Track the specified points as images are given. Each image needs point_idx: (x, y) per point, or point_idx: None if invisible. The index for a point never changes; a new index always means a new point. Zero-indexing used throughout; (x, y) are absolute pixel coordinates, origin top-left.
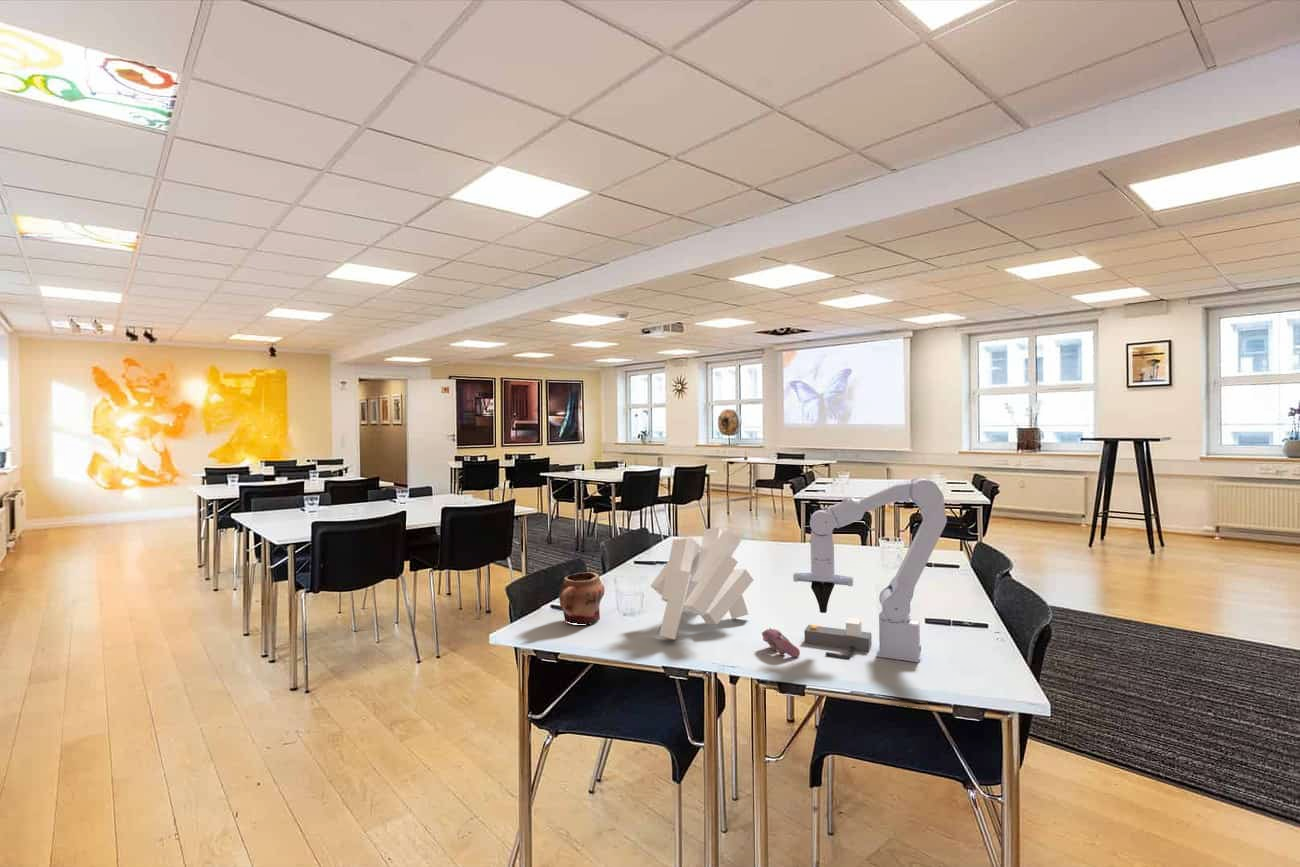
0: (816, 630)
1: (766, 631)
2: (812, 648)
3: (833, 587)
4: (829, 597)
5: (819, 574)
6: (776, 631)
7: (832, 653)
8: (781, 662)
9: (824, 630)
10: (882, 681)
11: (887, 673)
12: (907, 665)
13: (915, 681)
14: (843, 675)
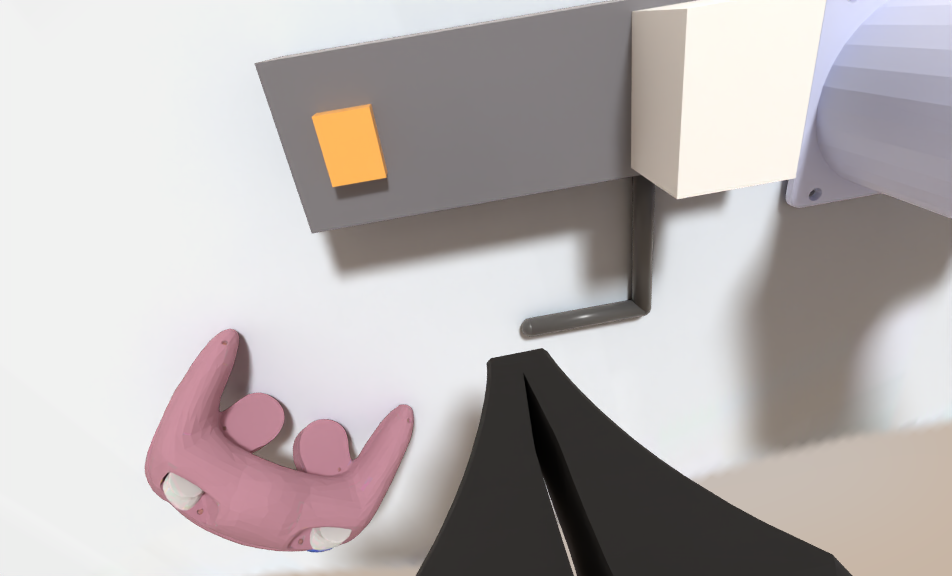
0: (391, 180)
1: (195, 523)
2: (417, 266)
3: (796, 549)
4: (630, 440)
5: None
6: (273, 542)
7: (562, 330)
8: None
9: (447, 142)
10: (789, 439)
11: (816, 365)
12: (928, 227)
13: (916, 378)
14: None
